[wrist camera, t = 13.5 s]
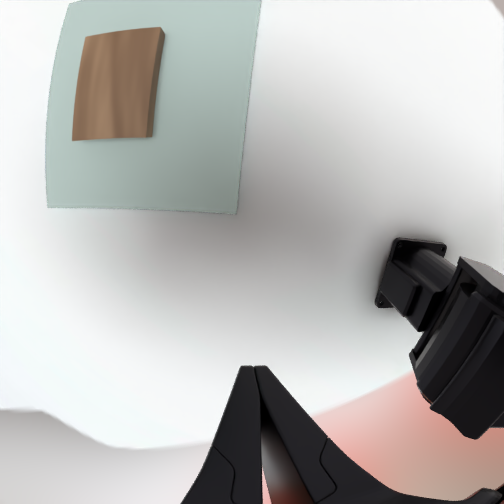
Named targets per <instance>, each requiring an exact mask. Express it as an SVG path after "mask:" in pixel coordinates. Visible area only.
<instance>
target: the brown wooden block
mask: <svg viewBox="0 0 504 504" xmlns="http://www.w3.org/2000/svg"><path fill="white" fill-rule="evenodd" d="M164 39H165V33H164V31H163V30H162V28H161V27H150V28H139V29H130V30H122V31H115V32H108V33H102V34H97V35H92V36H87V37H85V41H84V46H83V51H82V56H81V61H80V67H79V73H78V79H77V86H76V94H75V103H74V114H73V128H72V141H81V140H94V139H111V138H147V137H152V134H153V122H154V111H155V101H156V92H157V84H158V77H159V70H160V63H161V57H162V51H163V45H164Z"/></svg>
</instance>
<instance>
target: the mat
mask: <svg viewBox="0 0 504 504" xmlns="http://www.w3.org/2000/svg"><path fill="white" fill-rule="evenodd" d="M260 5H261V0H81V1H77V2H73V3H70V4H69V6H68V9H67V12H66V16H65V19H64V22H63V26H62V30H61V34H60V38H59V42H58V46H57V50H56V55H55V60H54V66H53V71H52V77H51V84H50V91H49V100H48V110H47V122H46V145H45V171H46V194H47V207H48V208H107V209H142V210H167V211H188V212H206V213H223V214H237V203H238V193H239V183H240V173H241V163H242V154H243V144H244V135H245V126H246V117H247V108H248V99H249V91H250V83H251V74H252V66H253V58H254V50H255V42H256V35H257V27H258V20H259V13H260ZM150 27H161V28H162V30H163V31H164V33H165V39H164V45H163V51H162V57H161V63H160V70H159V77H158V84H157V92H156V101H155V111H154V122H153V134H152V137H147V138H111V139H94V140H81V141H72V128H73V114H74V103H75V94H76V86H77V79H78V73H79V67H80V61H81V56H82V51H83V46H84V41H85V37H87V36H92V35H97V34H102V33H108V32H115V31H122V30H130V29H139V28H150Z"/></svg>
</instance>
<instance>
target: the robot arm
mask: <svg viewBox="0 0 504 504" xmlns="http://www.w3.org/2000/svg"><path fill="white" fill-rule="evenodd" d="M399 243H400V245H399V246H398V244H399ZM446 249H447V246H446V245H445V244H444V243H440V242H432V241H423V240H415V239H406V238H397V239H396V240H395V241H394V243H393V246H392V250H391V253H390V257H389V260H388V264H387V267H386V270H385V273H384V277H383V280H382V283H381V286H380V289H379V292H378V295H377V298H376V300H375V305H376V306H377V307H378V308H392V307H395V308H396V309H397V311H398V312H399V313H400V314H401V315H402V316H403V317H405V318H406V319H407V320H408V321H409V322H410V323H411V325H412V326H413V327H414V328H415V329H416V330H417V332H422V333H423V334H422V336H421V338H420V339H419V341H418V343H417V344H416V346H415V347H414V349H412V350H411V352H410V353H409V357H410V360H411V363H412V366H413V370H414V373H415V376H416V379H417V387H418V389H419V390H420V392H421V394H422V396H423V398H424V399H425V400H426V401H427V402H428V403H430V404H431V406H430V409H431V410H432V411H434V412H436V413H438V414H441V415H442V416H444V417H445V418H446V419H448V420H449V421H450V422H451V423H452V424H454V426H455V427H456V428H457V429H458V430H459V431H460V432H461V433H462V434H463V435H464V436H465V437H468V438H471V439H478V438H480V437H481V436H482V435H483V434H484V433H485V432H486V431H487V430H488V429H489V428H504V275H502V274H501V273H499V272H498V271H496V270H494V269H493V268H491V267H490V266H488V265H485V264H482V263H479V262H476V261H473V260H470V259H467V258H464V257H461V256H460V257H459V260H458V262H457V264H458V265H457V267H455V266H454V265H453V264H451V263H450V262H448V261H447V260H446V259H444V256H445V253H446ZM381 301H382V302H381ZM380 302H381V303H380ZM327 437H328V436H327V435H326V434H325V433H324V431H323V430H322V429H321V428H320V427H319V426H318V425H317V424H316V423H315V422H314V420H312V418H311V417H310V416H309V415H308V414H307V413H306V411H305V410H304V409H303V408H302V407H301V406H300V405H299V403H298V402H297V401H296V400H295V399H294V398H293V397H292V395H291V394H290V393H289V392H288V391H287V390H286V388H285V387H284V386H283V385H282V384H281V382H280V381H279V380H278V379H277V378H276V376H275V375H274V374H273V373H272V372H271V370H270V369H269V368H268V367H267V366H265V365H262V366H254V367H253V366H241V367H240V369H239V372H238V374H237V377H236V380H235V383H234V385H233V388H232V391H231V394H230V397H229V399H228V402H227V405H226V407H225V410H224V413H223V416H222V418H221V421H220V424H219V426H218V429H217V432H216V434H215V437H214V440H213V442H212V446H211V447H210V450H209V452H208V455H207V457H206V460H205V462H204V464H203V466H202V469H201V471H200V472H199V474H198V476H197V478H196V480H195V481H194V483H193V485H192V486H191V488H190V490H189V491H188V493H187V494H186V496H185V497H184V499H183V501H182V502H181V504H263V498H262V466H263V471H264V475H265V479H266V483H267V487H268V491H269V495H270V499H271V503H272V504H504V484H502V485H501V486H500V487H498V488H497V489H495V490H492V489H487V488H481V489H480V490H478V491H476V492H475V493H473V494H472V495H470V496H469V497H467V498H466V499H464V500H461V501H447V500H438V499H431V498H424V497H418V496H412V495H407V494H403V493H399V492H397V491H394V490H392V489H390V488H388V487H387V486H385V485H384V484H382V483H381V482H379V481H378V480H377V479H375V478H374V477H373V476H372V475H370V474H369V473H368V472H366V471H365V470H364V469H362V468H361V467H360V466H359V465H357V464H356V463H355V462H354V461H353V460H351V459H350V458H349V457H348V456H347V455H346V454H345V453H344V452H343V451H342V450H340V448H339V447H338V446H337V445H336V444H335V443H334V442H333V441H332V440H331V439H330V438H327Z"/></svg>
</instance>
